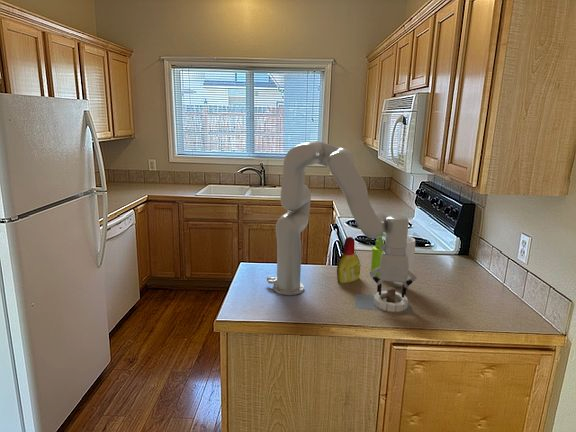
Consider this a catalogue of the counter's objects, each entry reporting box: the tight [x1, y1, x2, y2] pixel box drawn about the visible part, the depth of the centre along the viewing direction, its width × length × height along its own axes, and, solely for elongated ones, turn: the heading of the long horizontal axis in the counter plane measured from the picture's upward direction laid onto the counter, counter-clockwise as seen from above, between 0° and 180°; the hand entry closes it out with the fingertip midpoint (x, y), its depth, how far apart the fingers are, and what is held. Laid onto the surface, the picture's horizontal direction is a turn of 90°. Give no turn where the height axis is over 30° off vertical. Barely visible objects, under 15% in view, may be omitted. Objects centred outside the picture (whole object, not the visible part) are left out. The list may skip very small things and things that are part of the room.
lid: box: [382, 286, 399, 303], centre depth 148 cm, size 6×6×6 cm
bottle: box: [336, 236, 361, 284], centre depth 168 cm, size 12×6×20 cm, turn 123°
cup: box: [393, 235, 416, 285], centre depth 162 cm, size 10×10×22 cm
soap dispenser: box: [369, 232, 386, 278], centre depth 174 cm, size 6×7×20 cm
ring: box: [373, 290, 409, 313], centre depth 149 cm, size 12×12×2 cm
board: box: [354, 293, 412, 315], centre depth 150 cm, size 20×12×1 cm, turn 79°
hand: (391, 294), depth 148 cm, fingers open, 7 cm apart
